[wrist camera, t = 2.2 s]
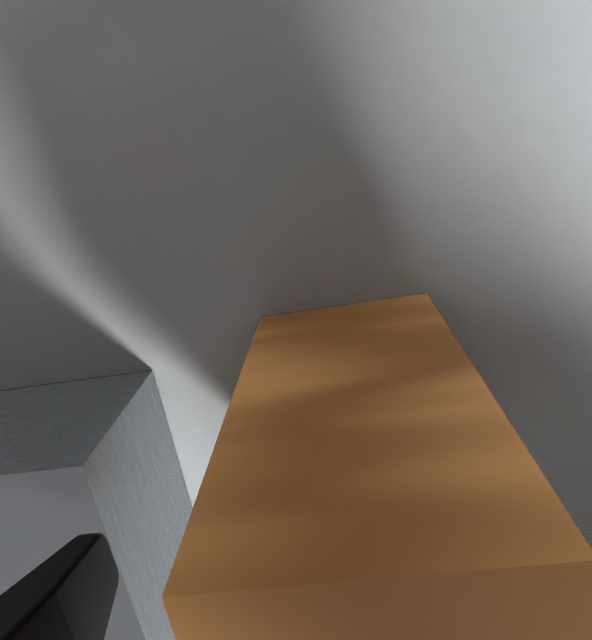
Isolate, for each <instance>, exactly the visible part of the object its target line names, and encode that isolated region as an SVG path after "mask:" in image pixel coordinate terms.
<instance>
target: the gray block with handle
mask: <svg viewBox="0 0 592 640" xmlns="http://www.w3.org/2000/svg"><path fill="white" fill-rule="evenodd" d="M191 512H192V506H191V502H190V499H189V495H188V492H187V489H186V485H185V482H184V478H183V475H182V471H181V468H180V464H179V461H178V457H177V454H176V450H175V447H174V443H173V440H172V437H171V433H170V430H169V426H168V423H167V419H166V416H165V412H164V409H163V405H162V402H161V398H160V395H159V392H158V388H157V385H156V381H155V378H154V374H153V371H145V372H137V373H130V374H123V375H115V376H108V377H100V378H93V379H85V380H78V381H71V382H63V383H56V384H48V385H41V386H33V387H26V388H19V389H11V390H4V391H0V595H1V594H2V593H4V592H5V591H6V590H8V589H9V588H10V587H11V586H13V585H14V584H15V583H17V582H18V581H19V580H21V579H22V578H23V577H24V576H26V575H27V574H28V573H30V572H31V571H32V570H33V569H35V568H36V567H37V566H39V565H40V564H41V563H42V562H44V561H45V560H46V559H48V558H49V557H50V556H52V555H53V554H54V553H55V552H57V551H58V550H59V549H61V548H62V547H63V546H64V545H66V544H67V543H68V542H70V541H71V540H72V539H73V538H75V537H76V536H78V535H81V534H88V533H103V534H104V535H105V536H106V538H107V540H108V542H109V545H110V548H111V551H112V553H113V556H114V559H115V562H116V564H117V567H118V571H119V583H118V588H117V592H116V596H115V600H114V604H113V608H112V612H111V615H110V619H109V623H108V627H107V631H106V635H105V639H104V640H176V639H175V636H174V633H173V630H172V627H171V624H170V621H169V618H168V615H167V612H166V609H165V606H164V603H163V600H162V595H163V592H164V589H165V586H166V583H167V580H168V578H169V575H170V572H171V569H172V566H173V563H174V561H175V558H176V555H177V552H178V549H179V546H180V543H181V541H182V538H183V535H184V532H185V529H186V526H187V524H188V521H189V518H190V515H191Z"/></svg>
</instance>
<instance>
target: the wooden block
mask: <svg viewBox="0 0 592 640" xmlns="http://www.w3.org/2000/svg"><path fill="white" fill-rule="evenodd" d="M162 600H163V603H164V606H165V609H166V612H167V615H168V618H169V621H170V624H171V627H172V630H173V633H174V636H175V639H176V640H592V548H591V547H590V545H589V544H588V542H587V540H586V539H585V537H584V536H583V534H582V533H581V531H580V530H579V528H578V526H577V525H576V523H575V522H574V520H573V519H572V517H571V516H570V514H569V513H568V511H567V509H566V508H565V506H564V505H563V503H562V502H561V500H560V499H559V497H558V495H557V494H556V492H555V491H554V489H553V488H552V486H551V485H550V483H549V481H548V480H547V478H546V477H545V475H544V474H543V472H542V471H541V469H540V467H539V466H538V464H537V463H536V461H535V460H534V458H533V457H532V455H531V454H530V452H529V450H528V449H527V447H526V446H525V444H524V443H523V441H522V440H521V438H520V436H519V435H518V433H517V432H516V430H515V429H514V427H513V426H512V424H511V422H510V421H509V419H508V418H507V416H506V415H505V413H504V412H503V410H502V408H501V407H500V405H499V404H498V402H497V401H496V399H495V398H494V396H493V395H492V393H491V391H490V390H489V388H488V387H487V385H486V384H485V382H484V381H483V379H482V377H481V376H480V374H479V373H478V371H477V370H476V368H475V367H474V365H473V363H472V362H471V360H470V359H469V357H468V356H467V354H466V353H465V351H464V350H463V348H462V346H461V345H460V343H459V342H458V340H457V339H456V337H455V336H454V334H453V332H452V331H451V329H450V328H449V326H448V325H447V323H446V322H445V320H444V318H443V317H442V315H441V314H440V312H439V311H438V309H437V308H436V306H435V304H434V303H433V301H432V300H431V298H430V297H429V295H428V294H427V293H423V294H416V295H409V296H402V297H395V298H388V299H381V300H374V301H367V302H360V303H354V304H347V305H340V306H333V307H326V308H319V309H312V310H305V311H298V312H291V313H284V314H277V315H270V316H263V317H260V319H259V322H258V325H257V328H256V330H255V333H254V336H253V339H252V342H251V345H250V347H249V350H248V353H247V356H246V359H245V362H244V364H243V367H242V370H241V373H240V376H239V379H238V382H237V384H236V387H235V390H234V393H233V396H232V399H231V401H230V404H229V407H228V410H227V413H226V416H225V418H224V421H223V424H222V427H221V430H220V433H219V435H218V438H217V441H216V444H215V447H214V450H213V453H212V455H211V458H210V461H209V464H208V467H207V470H206V472H205V475H204V478H203V481H202V484H201V487H200V489H199V492H198V495H197V498H196V501H195V504H194V507H193V509H192V512H191V515H190V518H189V521H188V524H187V526H186V529H185V532H184V535H183V538H182V541H181V543H180V546H179V549H178V552H177V555H176V558H175V561H174V563H173V566H172V569H171V572H170V575H169V578H168V580H167V583H166V586H165V589H164V592H163V595H162Z"/></svg>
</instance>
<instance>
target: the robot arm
mask: <svg viewBox="0 0 592 640" xmlns="http://www.w3.org/2000/svg"><path fill="white" fill-rule="evenodd" d="M118 583H119V571H118V567H117V564H116V562H115V559H114V556H113V553H112V551H111V548H110V545H109V542H108V540H107V538H106V536H105V535H104V534H103V533H88V534H81V535H78V536H76V537H75V538H73V539H72V540H71V541H70V542H68V543H67V544H66V545H64V546H63V547H62V548H61V549H59V550H58V551H57V552H55V553H54V554H53V555H52V556H50V557H49V558H48V559H46V560H45V561H44V562H42V563H41V564H40V565H39V566H37V567H36V568H35V569H33V570H32V571H31V572H30V573H28V574H27V575H26V576H24V577H23V578H22V579H21V580H19V581H18V582H17V583H15V584H14V585H13V586H11V587H10V588H9V589H8V590H6V591H5V592H4V593H2V594H1V595H0V640H104V639H105V635H106V631H107V627H108V623H109V619H110V615H111V612H112V608H113V604H114V600H115V596H116V592H117V588H118Z"/></svg>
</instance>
